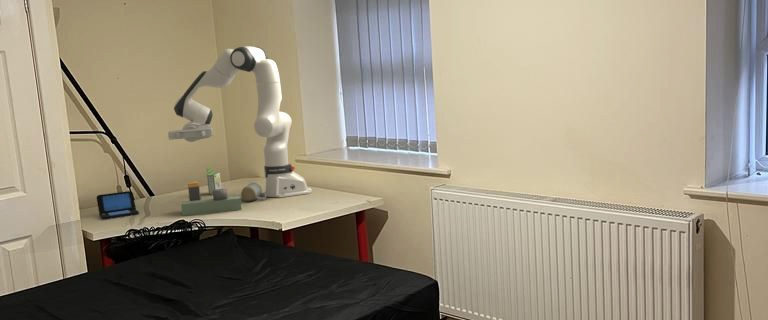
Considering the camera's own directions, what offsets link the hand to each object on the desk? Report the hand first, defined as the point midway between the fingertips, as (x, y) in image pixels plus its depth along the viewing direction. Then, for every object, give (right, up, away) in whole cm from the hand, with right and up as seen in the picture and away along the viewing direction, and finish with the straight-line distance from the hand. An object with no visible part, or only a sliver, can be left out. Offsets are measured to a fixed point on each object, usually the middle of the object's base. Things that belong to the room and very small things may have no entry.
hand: (190, 135), depth 326 cm
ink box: (+5, -28, +27) cm, 39 cm away
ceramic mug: (+29, -30, +3) cm, 42 cm away
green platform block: (+13, -33, -13) cm, 38 cm away
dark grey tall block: (+6, -34, -11) cm, 36 cm away
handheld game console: (-29, -36, -10) cm, 47 cm away
